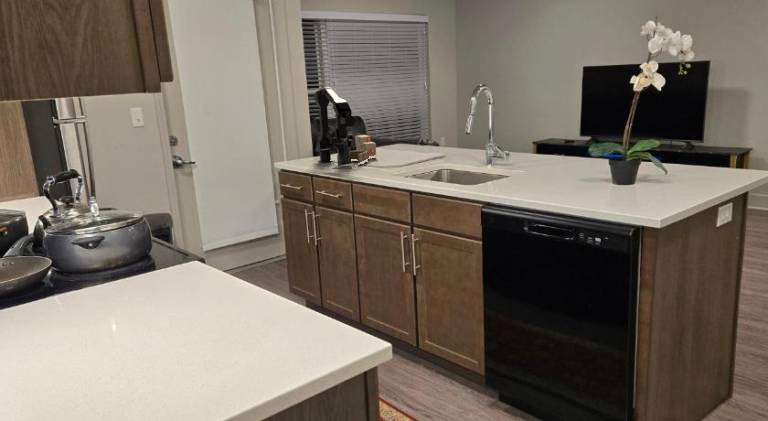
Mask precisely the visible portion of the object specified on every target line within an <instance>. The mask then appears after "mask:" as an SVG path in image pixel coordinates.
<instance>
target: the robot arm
mask: <svg viewBox="0 0 768 421" xmlns="http://www.w3.org/2000/svg"><path fill="white" fill-rule="evenodd" d="M333 89H334V88H333V87H330V86H326V87H322V88H321V89H319V90H317V91H315V93H313V99H314V101H315V104H316V106H317V107H318V116H319V117H318V118H319V129H320V131H319V132H320V134H319V135H318V138H317V142H316V146H315V150H316V152H319V160H317V162H318V163H325V164H326V163H329V162H328V161H330V160H332V158H331V154H332V153H331V151H334V146H335V147H336V149H337V148H338V150H337V152H338V151H339V154H340V156H343V152H344V148H345V143H344V141H348V146H349V147H350V149H352V148H351V147H352V144H353V143H354V141H355V136H356V135H355V134H354V133H352V134H351V133H349V129H350V128H351V127H353V126H354V125H355V124H356V119H355V117H354V116H353V115H352V114H353V113H352V109H351V107H350V105H349V103H348V101H346V99H344V98H341V97H340V96H338V94H337V93H336V92H335V91H334V90H333ZM330 103H331V104H332V110H333V111H334V113H335V115H334V116H335V117H336V118H335V119H336V127H335V129H334V131H331V130H330V129H329V128H330V127H329V126H330V125H329V115H328V114H329V113H328V106H329V104H330Z"/></svg>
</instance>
